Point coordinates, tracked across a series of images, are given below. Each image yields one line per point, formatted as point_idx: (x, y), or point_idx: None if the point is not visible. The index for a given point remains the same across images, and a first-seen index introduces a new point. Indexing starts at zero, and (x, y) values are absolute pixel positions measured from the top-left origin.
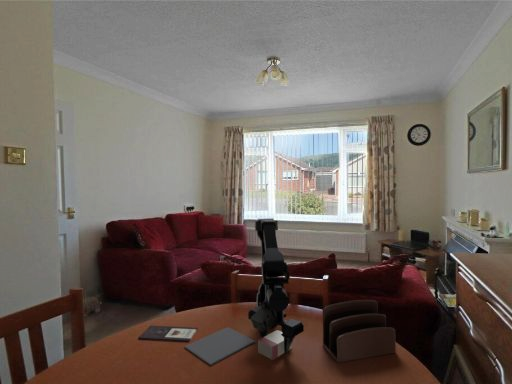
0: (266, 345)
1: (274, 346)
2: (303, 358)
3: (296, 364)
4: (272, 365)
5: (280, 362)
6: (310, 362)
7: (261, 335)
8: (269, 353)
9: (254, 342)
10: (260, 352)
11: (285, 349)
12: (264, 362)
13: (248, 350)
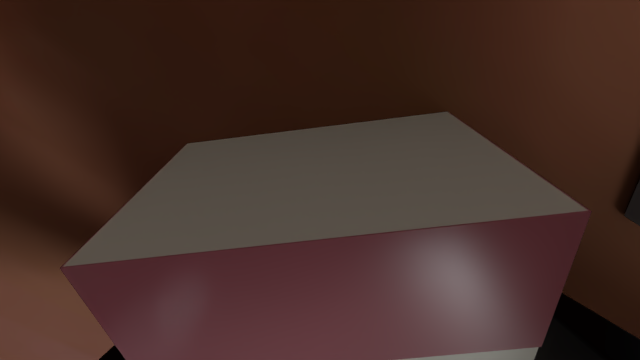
0: (267, 224)
1: (101, 308)
2: (84, 351)
3: (8, 272)
4: (72, 65)
5: (100, 184)
6: (7, 354)
7: (616, 343)
8: (217, 166)
9: (627, 208)
10: (407, 122)
11: (116, 352)
12: (191, 17)
13: (603, 27)
